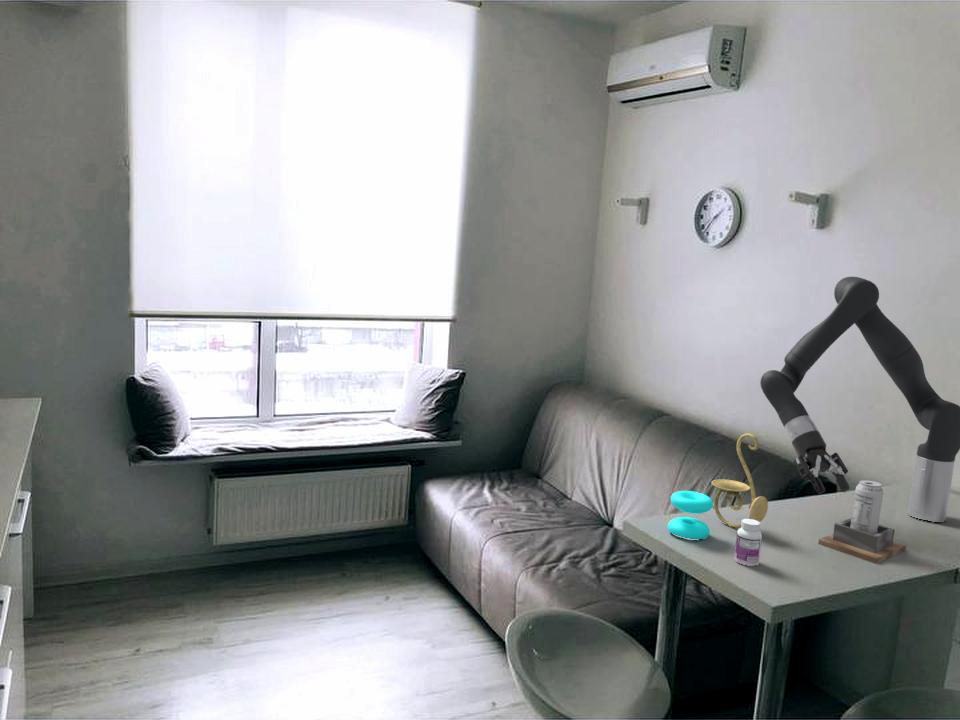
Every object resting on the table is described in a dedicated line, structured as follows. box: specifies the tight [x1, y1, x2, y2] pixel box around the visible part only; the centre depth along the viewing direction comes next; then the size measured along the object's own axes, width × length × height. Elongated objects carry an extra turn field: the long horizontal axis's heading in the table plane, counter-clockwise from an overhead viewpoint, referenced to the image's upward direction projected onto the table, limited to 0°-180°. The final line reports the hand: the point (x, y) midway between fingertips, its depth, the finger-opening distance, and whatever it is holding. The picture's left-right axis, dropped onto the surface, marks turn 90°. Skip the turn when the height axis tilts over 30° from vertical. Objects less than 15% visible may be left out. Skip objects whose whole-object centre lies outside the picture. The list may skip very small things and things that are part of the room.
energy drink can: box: [850, 479, 884, 535], centre depth 194 cm, size 6×6×15 cm
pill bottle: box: [734, 518, 763, 567], centre depth 180 cm, size 5×5×10 cm
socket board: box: [818, 517, 907, 564], centre depth 195 cm, size 16×14×5 cm
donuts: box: [667, 490, 714, 540], centre depth 196 cm, size 10×10×10 cm
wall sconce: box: [711, 432, 769, 529], centre depth 202 cm, size 14×10×25 cm
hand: (834, 491), depth 203 cm, fingers open, 8 cm apart
